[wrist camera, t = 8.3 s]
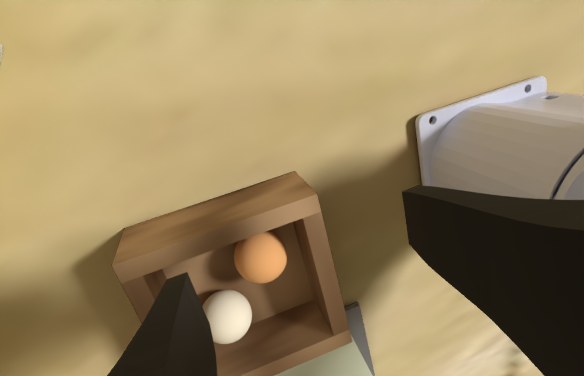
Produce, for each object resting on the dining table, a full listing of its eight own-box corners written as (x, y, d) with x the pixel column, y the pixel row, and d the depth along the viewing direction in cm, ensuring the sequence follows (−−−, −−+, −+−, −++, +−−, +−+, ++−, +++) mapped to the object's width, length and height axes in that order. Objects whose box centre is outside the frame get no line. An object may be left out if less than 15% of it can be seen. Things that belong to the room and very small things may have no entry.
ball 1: (239, 272, 23) (247, 302, 20) (253, 310, 24) (262, 343, 21) (191, 290, 22) (192, 323, 19) (208, 327, 23) (211, 363, 21)
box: (294, 171, 22) (316, 193, 18) (328, 301, 26) (352, 341, 22) (124, 228, 20) (111, 266, 17) (187, 358, 24) (188, 411, 20)
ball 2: (273, 214, 22) (285, 236, 19) (285, 255, 23) (299, 282, 20) (224, 231, 21) (230, 256, 19) (239, 272, 23) (247, 302, 20)
